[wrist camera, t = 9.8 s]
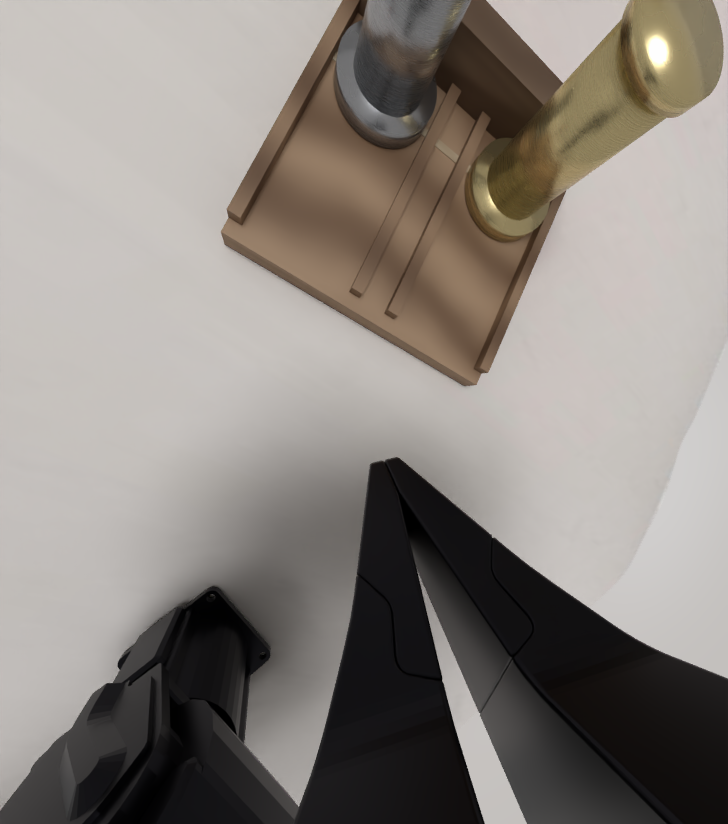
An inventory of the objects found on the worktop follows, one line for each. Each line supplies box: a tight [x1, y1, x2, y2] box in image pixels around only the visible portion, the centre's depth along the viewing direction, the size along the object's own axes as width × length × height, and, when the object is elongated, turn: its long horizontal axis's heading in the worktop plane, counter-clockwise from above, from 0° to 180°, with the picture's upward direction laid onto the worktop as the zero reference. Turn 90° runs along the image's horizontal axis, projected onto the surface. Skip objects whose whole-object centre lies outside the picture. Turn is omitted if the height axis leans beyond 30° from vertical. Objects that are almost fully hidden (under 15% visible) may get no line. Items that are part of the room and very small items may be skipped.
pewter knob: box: [334, 0, 471, 149], centre depth 16 cm, size 7×7×9 cm
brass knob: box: [465, 0, 723, 242], centre depth 18 cm, size 7×7×11 cm
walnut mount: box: [221, 0, 566, 386], centre depth 21 cm, size 20×20×5 cm
